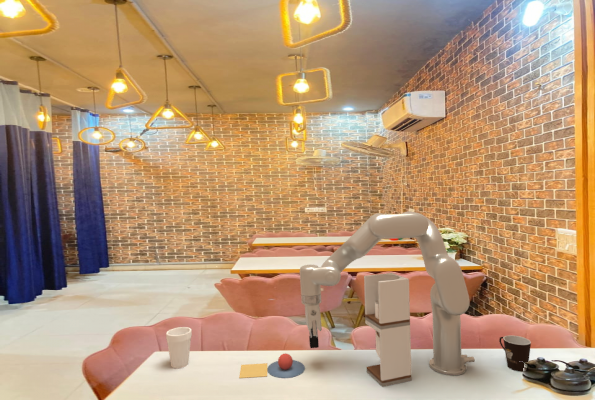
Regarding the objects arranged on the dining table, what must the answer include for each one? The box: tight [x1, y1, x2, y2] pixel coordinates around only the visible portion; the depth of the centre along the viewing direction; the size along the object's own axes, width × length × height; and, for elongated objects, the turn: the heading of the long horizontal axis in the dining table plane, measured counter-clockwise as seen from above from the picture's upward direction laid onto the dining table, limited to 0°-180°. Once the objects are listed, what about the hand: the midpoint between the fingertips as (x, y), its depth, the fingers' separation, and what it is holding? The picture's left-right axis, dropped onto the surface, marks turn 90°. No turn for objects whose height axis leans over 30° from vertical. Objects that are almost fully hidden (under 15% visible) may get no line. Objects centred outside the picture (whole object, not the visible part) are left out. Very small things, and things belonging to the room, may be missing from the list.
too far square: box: [238, 362, 268, 379], centre depth 134 cm, size 10×10×1 cm
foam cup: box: [165, 326, 193, 369], centre depth 141 cm, size 10×9×13 cm
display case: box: [363, 272, 412, 388], centre depth 127 cm, size 11×11×35 cm
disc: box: [267, 359, 306, 379], centre depth 135 cm, size 14×14×1 cm
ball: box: [277, 352, 294, 370], centre depth 135 cm, size 6×6×6 cm
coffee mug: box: [498, 335, 532, 373], centre depth 133 cm, size 12×9×10 cm
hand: (314, 346), depth 136 cm, fingers closed
